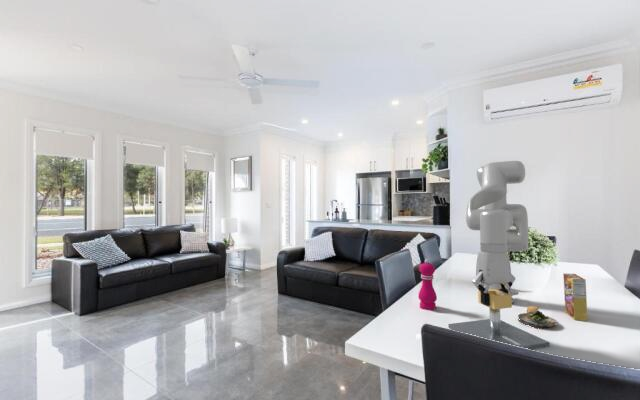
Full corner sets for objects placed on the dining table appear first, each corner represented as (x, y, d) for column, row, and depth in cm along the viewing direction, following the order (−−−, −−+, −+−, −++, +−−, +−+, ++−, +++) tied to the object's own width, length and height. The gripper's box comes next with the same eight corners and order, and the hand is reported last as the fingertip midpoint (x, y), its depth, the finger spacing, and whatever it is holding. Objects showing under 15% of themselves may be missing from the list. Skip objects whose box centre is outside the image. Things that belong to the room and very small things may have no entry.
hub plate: (496, 321, 110) (495, 296, 110) (549, 346, 91) (549, 315, 91) (448, 327, 105) (447, 301, 106) (494, 355, 86) (493, 322, 86)
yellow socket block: (495, 301, 102) (494, 287, 102) (511, 307, 96) (511, 292, 96) (478, 302, 101) (478, 288, 101) (494, 309, 94) (494, 294, 94)
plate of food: (545, 333, 101) (544, 310, 101) (510, 320, 111) (510, 300, 112) (566, 326, 105) (565, 305, 106) (531, 315, 116) (530, 296, 116)
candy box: (563, 311, 119) (562, 272, 119) (577, 313, 117) (576, 273, 118) (573, 320, 111) (572, 278, 111) (587, 321, 109) (586, 279, 109)
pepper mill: (438, 310, 122) (437, 261, 122) (419, 309, 123) (418, 260, 124) (435, 305, 129) (434, 258, 129) (417, 304, 130) (416, 257, 131)
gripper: (505, 245, 104) (506, 297, 104) (462, 248, 100) (463, 302, 100) (525, 248, 97) (526, 304, 97) (479, 251, 93) (480, 310, 93)
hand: (494, 303), depth 98 cm, fingers closed on yellow socket block, 6 cm apart
